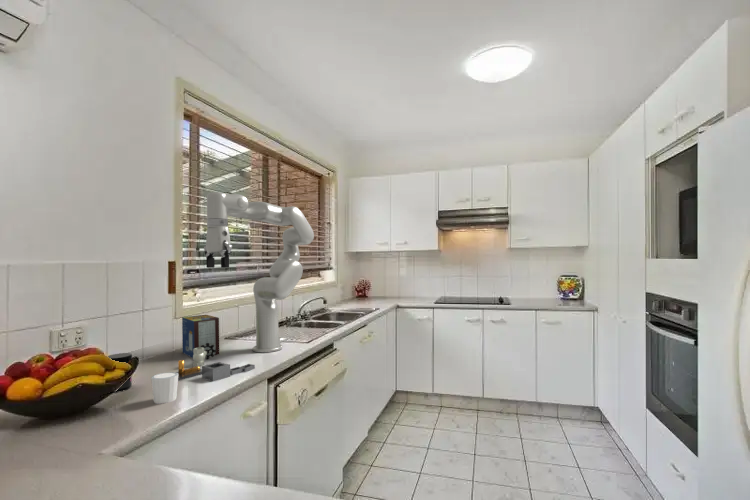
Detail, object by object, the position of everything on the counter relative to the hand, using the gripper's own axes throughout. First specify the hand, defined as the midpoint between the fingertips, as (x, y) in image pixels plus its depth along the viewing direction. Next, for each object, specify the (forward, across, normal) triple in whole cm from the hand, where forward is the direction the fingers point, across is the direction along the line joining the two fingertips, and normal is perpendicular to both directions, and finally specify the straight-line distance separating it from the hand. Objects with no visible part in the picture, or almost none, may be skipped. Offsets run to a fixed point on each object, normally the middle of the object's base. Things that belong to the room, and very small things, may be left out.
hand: (217, 267), depth 153 cm
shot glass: (+37, -25, +33) cm, 55 cm away
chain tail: (+37, -18, +4) cm, 41 cm away
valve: (+37, +4, +4) cm, 38 cm away
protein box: (+37, +19, -4) cm, 42 cm away
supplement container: (+37, -3, +36) cm, 52 cm away
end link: (+37, -18, +12) cm, 43 cm away
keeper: (+37, -7, +17) cm, 41 cm away
